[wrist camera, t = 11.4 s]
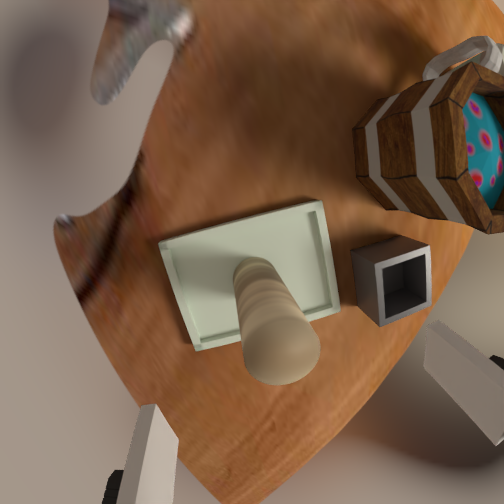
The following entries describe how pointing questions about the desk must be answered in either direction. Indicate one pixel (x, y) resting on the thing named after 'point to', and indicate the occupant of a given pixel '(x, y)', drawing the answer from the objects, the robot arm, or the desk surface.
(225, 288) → the tray
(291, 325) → the dowel
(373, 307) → the pen cup
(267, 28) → the desk surface
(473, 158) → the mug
